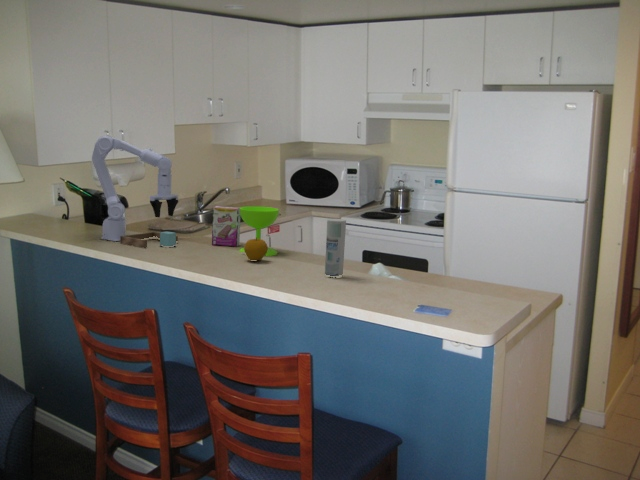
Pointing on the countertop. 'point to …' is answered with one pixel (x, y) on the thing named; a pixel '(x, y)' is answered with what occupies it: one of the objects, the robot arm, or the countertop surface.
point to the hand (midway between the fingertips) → (164, 216)
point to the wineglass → (259, 221)
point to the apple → (255, 249)
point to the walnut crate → (139, 239)
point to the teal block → (167, 238)
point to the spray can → (335, 247)
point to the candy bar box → (226, 226)
